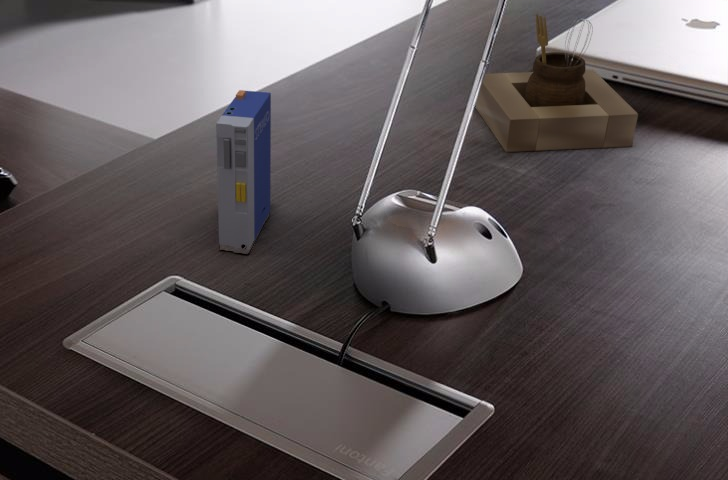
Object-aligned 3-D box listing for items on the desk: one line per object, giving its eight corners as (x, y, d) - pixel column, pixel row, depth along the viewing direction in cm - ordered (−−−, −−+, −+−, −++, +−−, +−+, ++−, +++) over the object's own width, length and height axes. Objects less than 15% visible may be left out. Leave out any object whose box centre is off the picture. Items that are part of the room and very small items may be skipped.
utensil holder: (591, 129, 114) (611, 15, 107) (540, 139, 112) (557, 23, 105) (557, 110, 118) (574, -1, 112) (508, 118, 117) (523, 7, 110)
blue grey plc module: (241, 211, 99) (239, 85, 93) (270, 215, 99) (271, 88, 92) (217, 252, 93) (213, 120, 86) (248, 256, 92) (247, 123, 86)
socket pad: (587, 99, 121) (592, 69, 119) (632, 146, 110) (638, 113, 108) (472, 104, 120) (476, 74, 118) (505, 152, 109) (510, 119, 107)
